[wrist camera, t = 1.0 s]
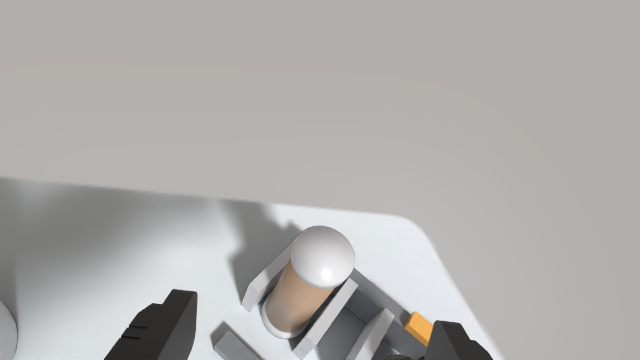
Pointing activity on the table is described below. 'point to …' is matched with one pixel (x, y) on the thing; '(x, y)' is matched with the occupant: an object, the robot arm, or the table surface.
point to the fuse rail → (356, 295)
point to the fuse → (307, 280)
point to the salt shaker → (402, 357)
